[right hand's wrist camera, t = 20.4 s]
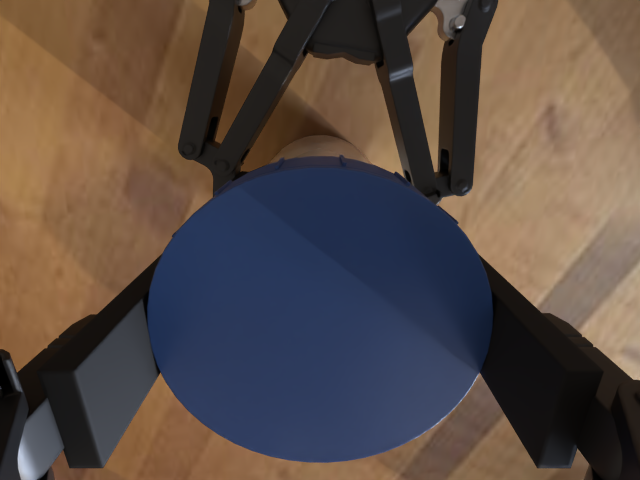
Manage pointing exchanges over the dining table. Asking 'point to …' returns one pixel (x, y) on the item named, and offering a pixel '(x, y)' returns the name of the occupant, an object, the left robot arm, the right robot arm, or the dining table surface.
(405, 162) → the left robot arm
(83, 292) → the dining table surface
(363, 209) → the lid
